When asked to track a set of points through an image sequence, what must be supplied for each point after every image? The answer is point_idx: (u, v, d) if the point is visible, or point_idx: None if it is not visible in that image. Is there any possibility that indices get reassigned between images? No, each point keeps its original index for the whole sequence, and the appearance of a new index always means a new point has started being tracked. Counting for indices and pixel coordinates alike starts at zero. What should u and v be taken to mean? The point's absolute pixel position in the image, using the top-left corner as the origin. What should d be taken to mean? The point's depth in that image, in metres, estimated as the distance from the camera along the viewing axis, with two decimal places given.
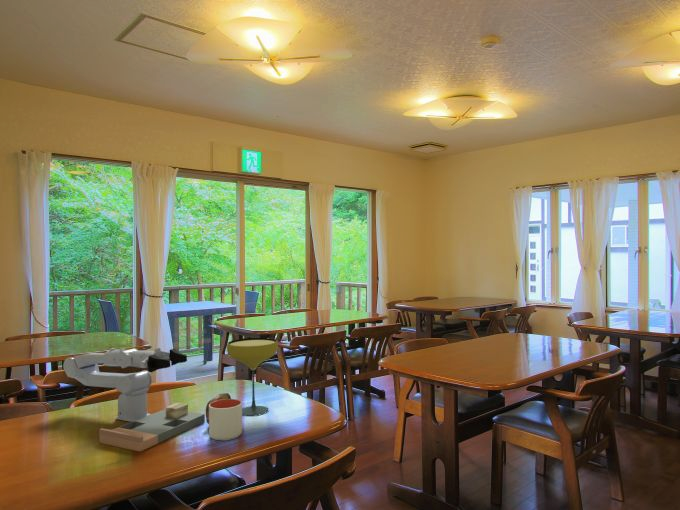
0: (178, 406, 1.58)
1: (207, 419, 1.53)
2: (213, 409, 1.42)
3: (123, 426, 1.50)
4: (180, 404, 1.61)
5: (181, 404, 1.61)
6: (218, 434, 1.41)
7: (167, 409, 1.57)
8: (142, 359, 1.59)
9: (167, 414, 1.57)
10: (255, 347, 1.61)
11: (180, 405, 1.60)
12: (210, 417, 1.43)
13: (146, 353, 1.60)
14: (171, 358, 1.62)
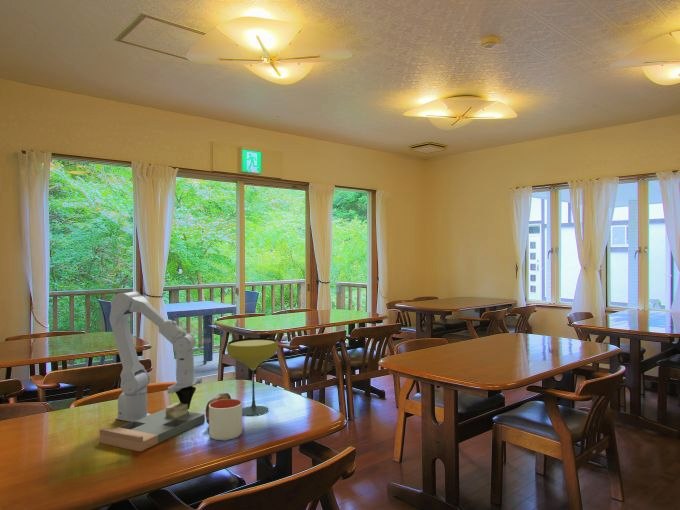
0: (178, 406, 1.58)
1: (207, 419, 1.53)
2: (213, 409, 1.42)
3: (123, 426, 1.50)
4: (180, 404, 1.61)
5: (181, 404, 1.61)
6: (218, 434, 1.41)
7: (167, 409, 1.57)
8: (180, 373, 1.60)
9: (167, 414, 1.57)
10: (255, 347, 1.61)
11: (180, 405, 1.60)
12: (210, 417, 1.43)
13: (187, 374, 1.61)
14: None
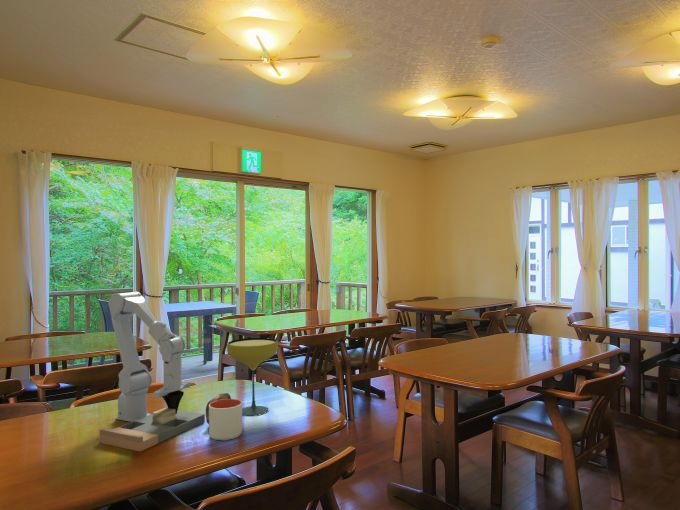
0: (165, 411, 1.53)
1: (207, 419, 1.53)
2: (213, 409, 1.42)
3: (123, 426, 1.50)
4: (167, 409, 1.55)
5: (168, 409, 1.55)
6: (218, 434, 1.41)
7: (154, 414, 1.52)
8: (167, 377, 1.55)
9: (154, 420, 1.52)
10: (255, 347, 1.61)
11: (167, 410, 1.54)
12: (210, 417, 1.43)
13: (175, 378, 1.56)
14: None
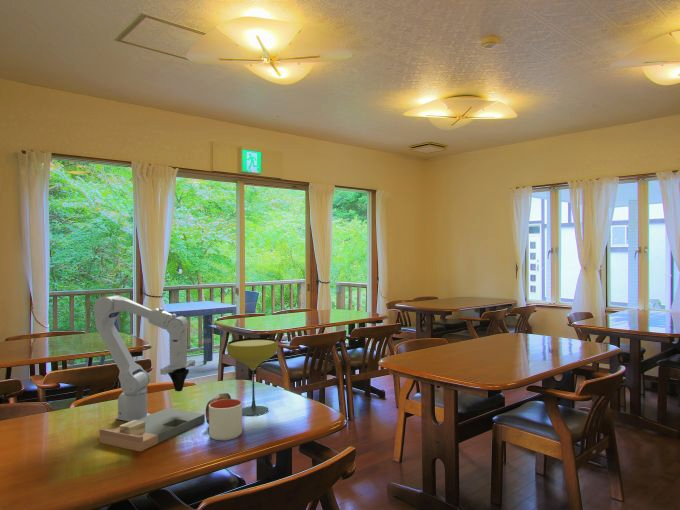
0: (134, 424, 1.42)
1: (207, 419, 1.53)
2: (213, 409, 1.42)
3: None
4: (136, 422, 1.44)
5: (138, 422, 1.44)
6: (218, 434, 1.41)
7: (121, 428, 1.41)
8: (173, 355, 1.61)
9: None
10: (255, 347, 1.61)
11: (136, 423, 1.43)
12: (210, 417, 1.43)
13: (180, 356, 1.61)
14: None
